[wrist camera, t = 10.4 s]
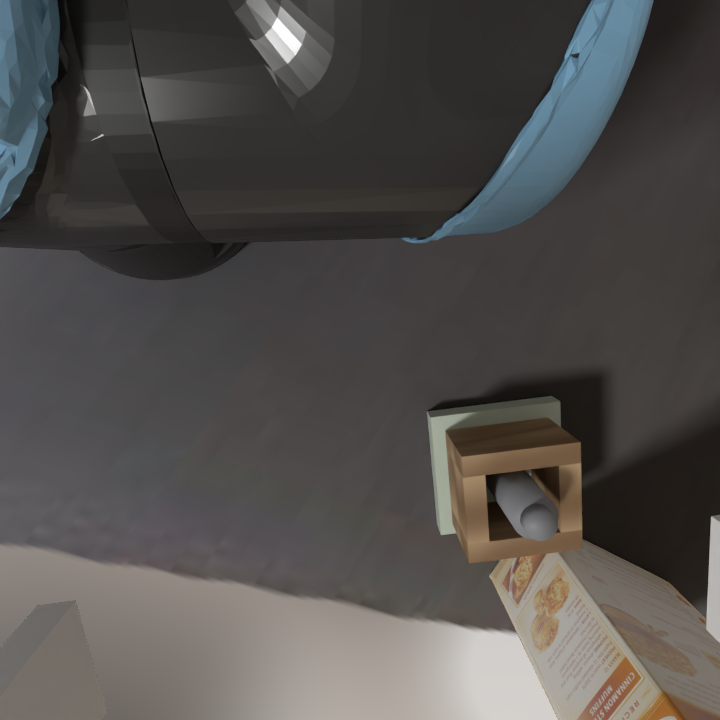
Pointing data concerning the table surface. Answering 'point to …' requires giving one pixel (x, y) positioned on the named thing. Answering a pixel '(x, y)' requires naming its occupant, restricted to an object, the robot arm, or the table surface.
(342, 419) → the table surface
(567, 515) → the collar
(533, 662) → the coffeecake box
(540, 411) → the sage green base plate
